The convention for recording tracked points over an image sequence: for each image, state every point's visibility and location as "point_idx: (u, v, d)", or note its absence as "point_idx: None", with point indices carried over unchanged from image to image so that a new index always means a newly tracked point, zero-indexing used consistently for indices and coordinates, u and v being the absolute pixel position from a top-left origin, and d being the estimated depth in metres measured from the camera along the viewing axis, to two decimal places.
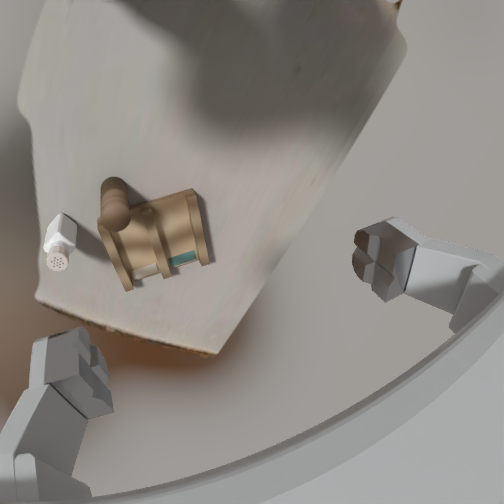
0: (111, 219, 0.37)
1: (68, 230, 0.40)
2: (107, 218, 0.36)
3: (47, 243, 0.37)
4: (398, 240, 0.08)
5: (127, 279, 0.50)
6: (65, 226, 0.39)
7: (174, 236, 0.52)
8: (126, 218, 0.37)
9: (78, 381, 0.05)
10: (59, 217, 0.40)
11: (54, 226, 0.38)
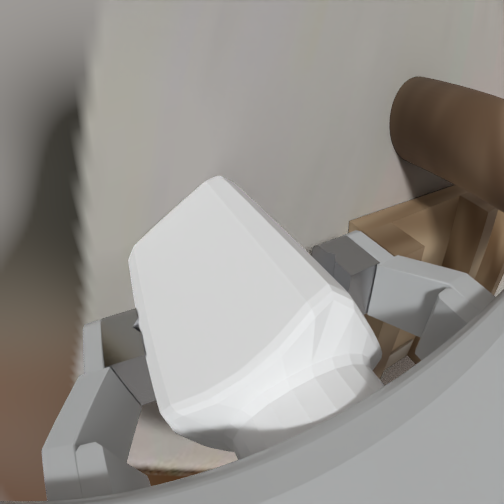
0: None
1: None
2: None
3: (219, 395, 0.04)
4: (356, 258, 0.08)
5: None
6: None
7: None
8: None
9: (142, 362, 0.06)
10: (233, 192, 0.08)
11: (228, 244, 0.06)
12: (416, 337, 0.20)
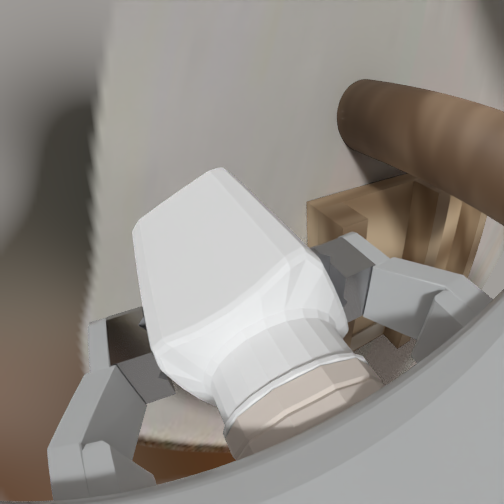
0: None
1: None
2: None
3: (206, 329, 0.06)
4: (352, 260, 0.07)
5: None
6: None
7: None
8: None
9: (148, 360, 0.06)
10: (232, 180, 0.09)
11: (224, 217, 0.08)
12: None
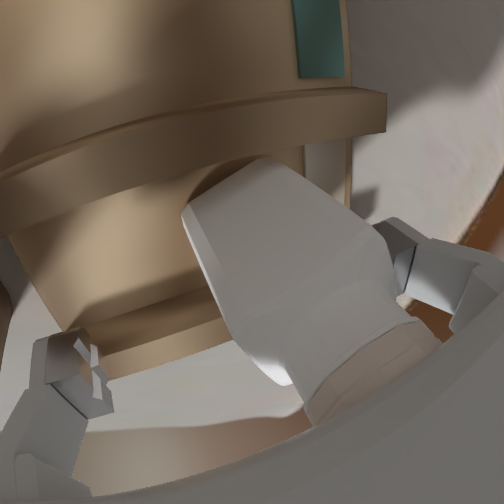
0: None
1: None
2: None
3: (291, 298, 0.06)
4: (398, 240, 0.08)
5: None
6: None
7: (175, 33, 0.08)
8: None
9: (78, 381, 0.05)
10: (285, 168, 0.09)
11: (288, 199, 0.08)
12: None
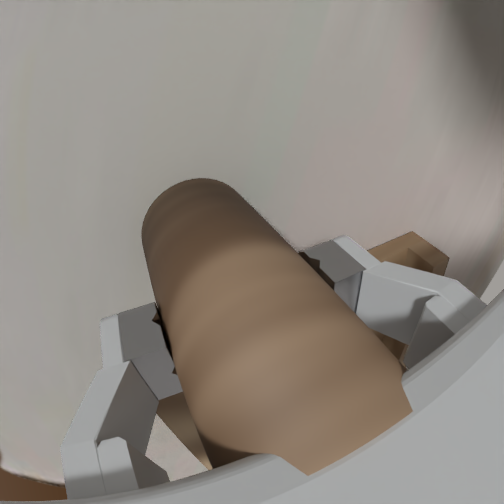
0: None
1: None
2: None
3: None
4: (342, 264, 0.07)
5: None
6: None
7: None
8: None
9: (162, 355, 0.06)
10: None
11: None
12: None
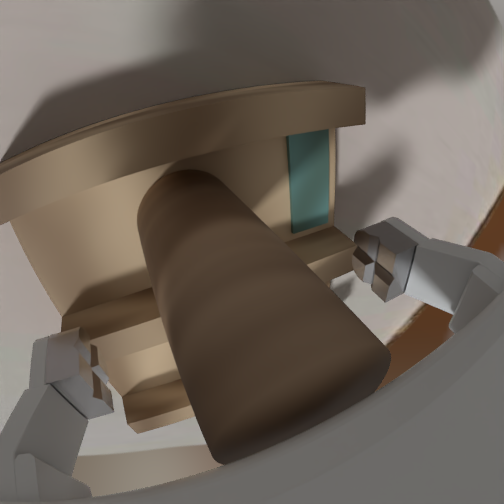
0: (280, 430, 0.05)
1: None
2: (257, 434, 0.05)
3: None
4: (398, 240, 0.08)
5: None
6: None
7: None
8: (360, 396, 0.06)
9: (78, 381, 0.05)
10: None
11: None
12: None
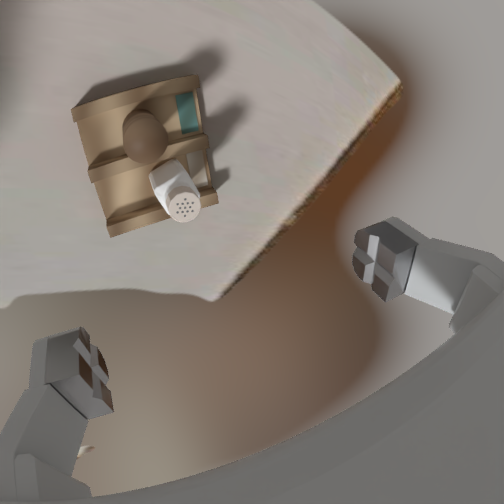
0: (138, 142, 0.24)
1: None
2: (132, 140, 0.24)
3: (165, 183, 0.30)
4: (398, 240, 0.08)
5: None
6: None
7: None
8: (161, 142, 0.25)
9: (78, 381, 0.05)
10: (176, 161, 0.34)
11: (172, 168, 0.32)
12: None
